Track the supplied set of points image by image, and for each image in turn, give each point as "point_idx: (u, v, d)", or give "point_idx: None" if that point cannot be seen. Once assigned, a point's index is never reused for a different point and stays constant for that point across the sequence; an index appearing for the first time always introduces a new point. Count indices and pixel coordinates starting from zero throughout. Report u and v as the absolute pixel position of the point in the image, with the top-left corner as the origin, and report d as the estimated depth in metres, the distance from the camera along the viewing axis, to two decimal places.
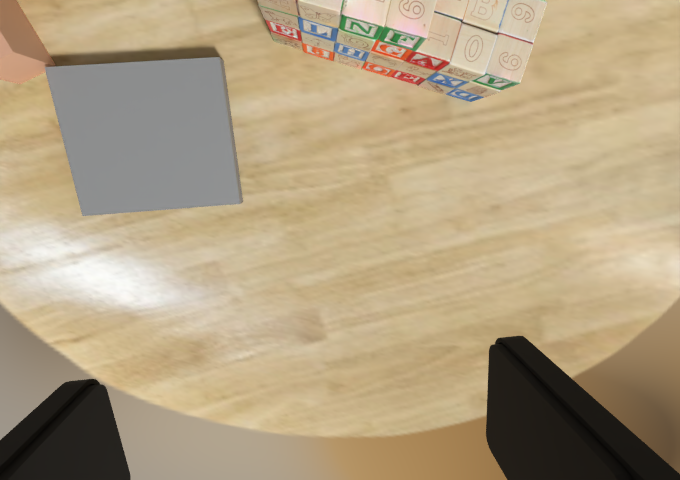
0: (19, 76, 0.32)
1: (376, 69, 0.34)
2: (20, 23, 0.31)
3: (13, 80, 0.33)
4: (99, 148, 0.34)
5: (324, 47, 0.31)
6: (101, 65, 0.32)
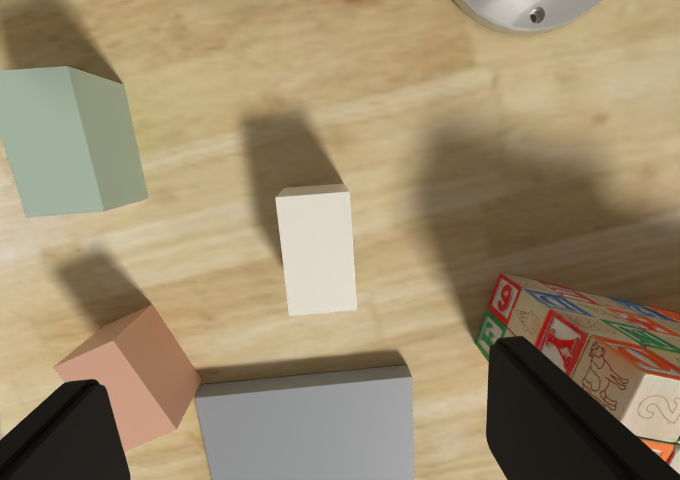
0: None
1: None
2: (169, 356, 0.24)
3: None
4: (252, 475, 0.27)
5: None
6: (265, 393, 0.25)
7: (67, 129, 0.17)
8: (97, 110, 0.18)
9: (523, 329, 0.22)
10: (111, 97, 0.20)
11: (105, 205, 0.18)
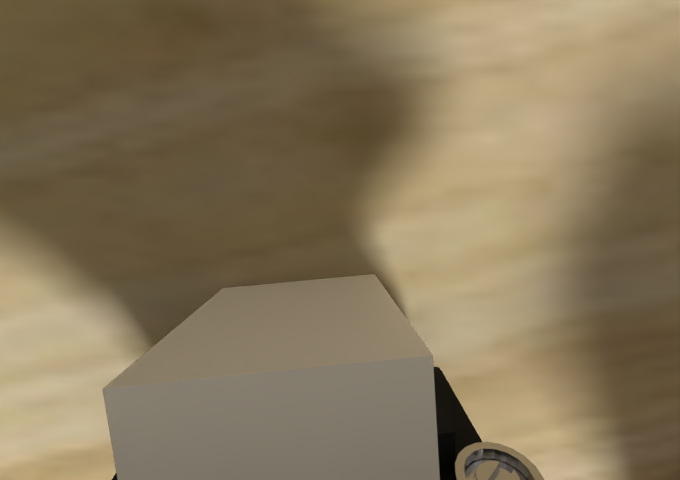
0: None
1: None
2: None
3: None
4: None
5: None
6: None
7: None
8: None
9: None
10: None
11: None
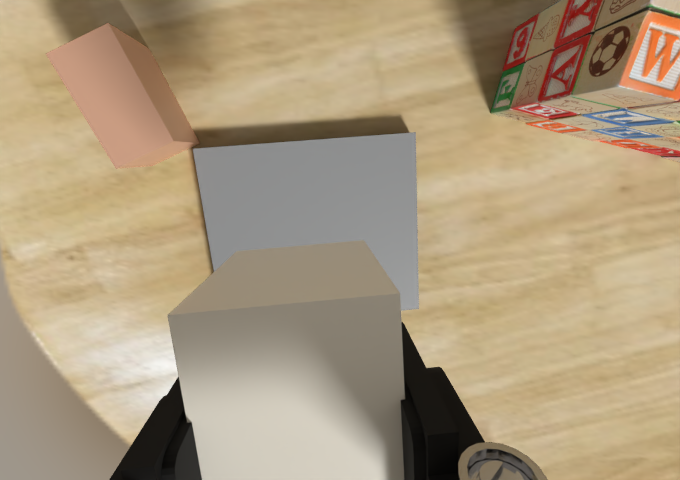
0: (158, 159, 0.25)
1: (619, 142, 0.27)
2: (166, 95, 0.23)
3: (149, 164, 0.25)
4: (252, 247, 0.26)
5: (584, 126, 0.24)
6: (265, 145, 0.25)
7: None
8: None
9: (543, 40, 0.21)
10: None
11: None
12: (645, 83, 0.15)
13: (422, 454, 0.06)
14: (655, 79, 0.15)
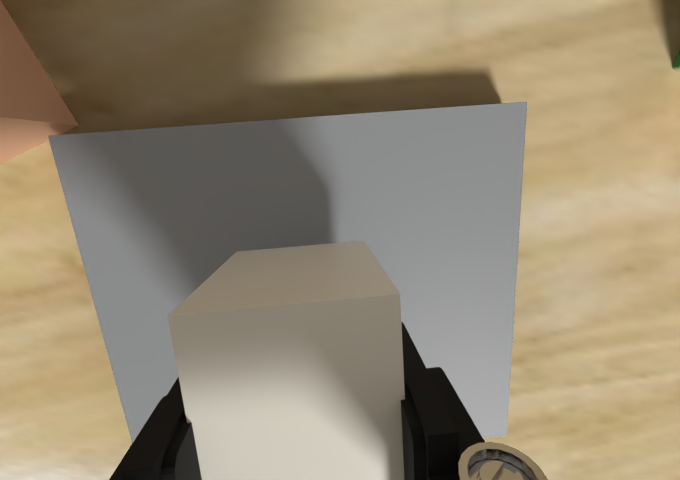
0: None
1: None
2: None
3: None
4: None
5: None
6: (206, 129, 0.11)
7: None
8: None
9: None
10: None
11: None
12: None
13: (422, 454, 0.06)
14: None
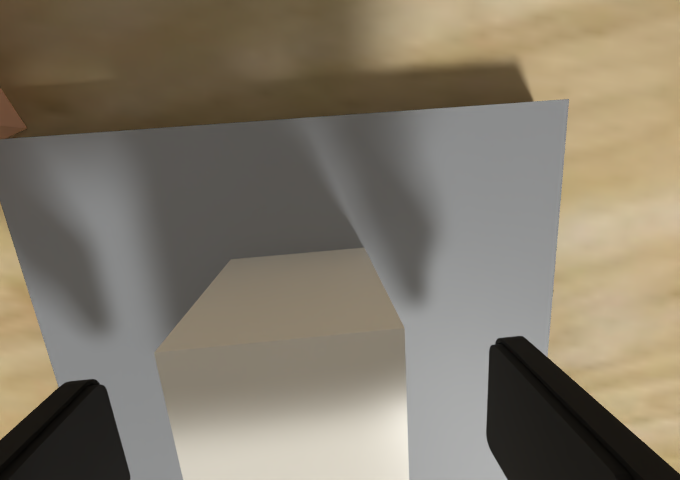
0: None
1: None
2: None
3: None
4: None
5: None
6: (178, 133, 0.09)
7: None
8: None
9: None
10: None
11: None
12: None
13: None
14: None
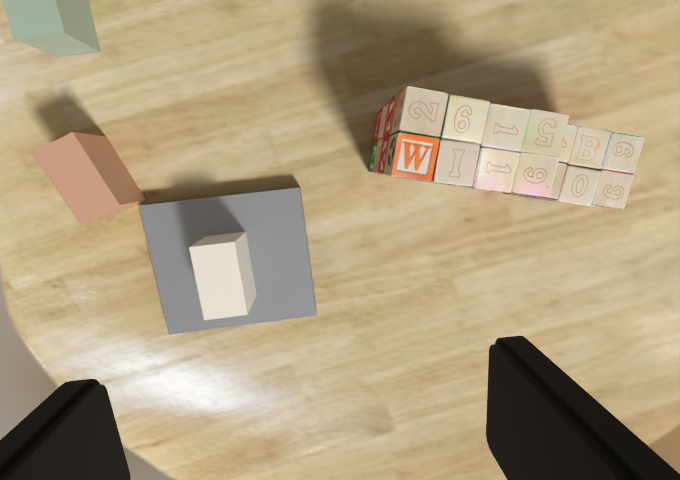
0: (114, 214, 0.35)
1: None
2: (118, 169, 0.33)
3: (108, 217, 0.35)
4: (186, 274, 0.36)
5: (424, 181, 0.34)
6: (190, 201, 0.35)
7: None
8: None
9: (381, 129, 0.31)
10: None
11: (65, 30, 0.28)
12: (407, 172, 0.25)
13: None
14: (413, 169, 0.25)
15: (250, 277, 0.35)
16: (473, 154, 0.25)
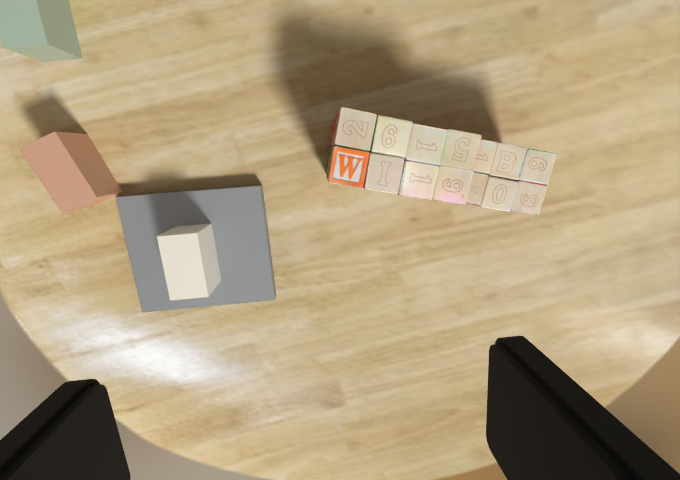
0: (94, 203, 0.39)
1: None
2: (97, 164, 0.37)
3: (88, 206, 0.39)
4: (158, 259, 0.41)
5: None
6: (162, 195, 0.39)
7: None
8: None
9: (332, 138, 0.36)
10: None
11: (48, 42, 0.32)
12: (342, 180, 0.29)
13: None
14: (347, 178, 0.29)
15: (214, 264, 0.40)
16: (398, 166, 0.29)
